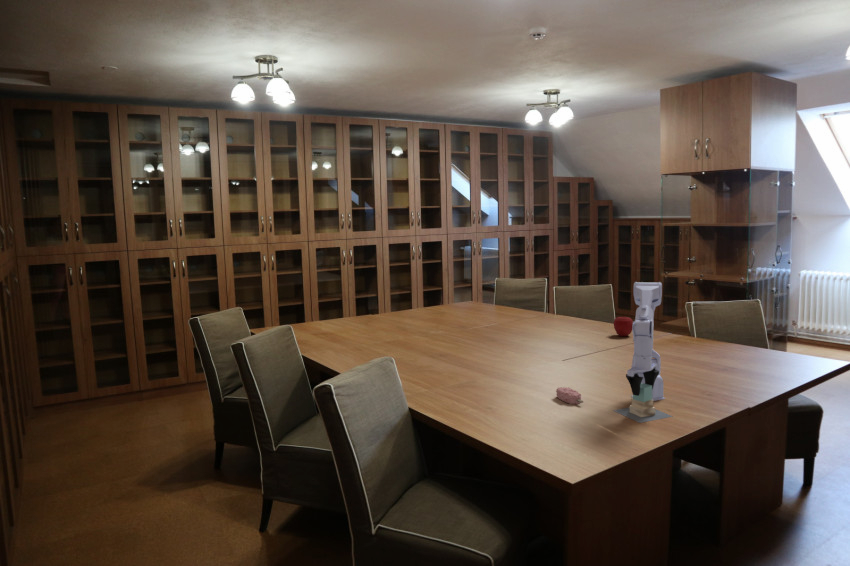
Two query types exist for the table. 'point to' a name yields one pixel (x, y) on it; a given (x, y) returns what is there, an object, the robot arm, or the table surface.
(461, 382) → the table surface
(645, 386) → the teal block
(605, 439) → the table surface
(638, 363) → the robot arm
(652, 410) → the tower base
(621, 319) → the apple
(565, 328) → the table surface
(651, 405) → the tower mid
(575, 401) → the ice cream bar
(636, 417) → the felt mat
